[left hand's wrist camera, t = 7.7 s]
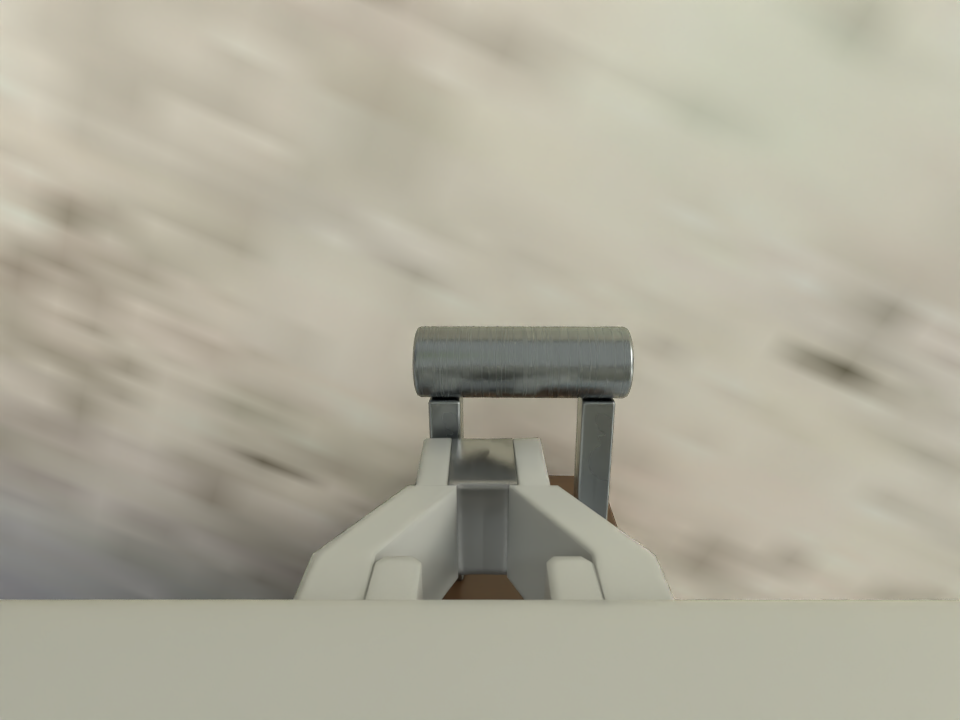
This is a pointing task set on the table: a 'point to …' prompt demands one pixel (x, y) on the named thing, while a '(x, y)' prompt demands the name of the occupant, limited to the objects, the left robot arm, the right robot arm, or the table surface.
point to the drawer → (528, 374)
